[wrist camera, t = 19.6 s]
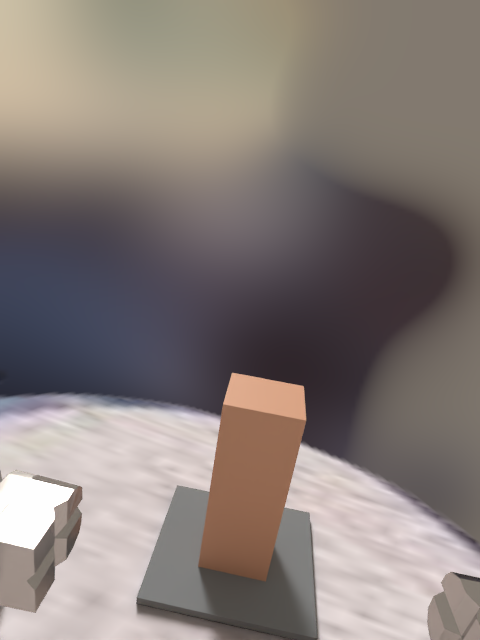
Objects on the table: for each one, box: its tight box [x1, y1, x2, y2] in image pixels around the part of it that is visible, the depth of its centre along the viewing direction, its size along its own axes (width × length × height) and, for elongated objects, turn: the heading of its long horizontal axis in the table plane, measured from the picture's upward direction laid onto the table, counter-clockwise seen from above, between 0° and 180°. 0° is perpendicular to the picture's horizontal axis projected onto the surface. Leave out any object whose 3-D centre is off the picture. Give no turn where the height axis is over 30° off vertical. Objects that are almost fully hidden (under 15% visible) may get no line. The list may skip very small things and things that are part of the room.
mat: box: [137, 485, 317, 640], centre depth 30 cm, size 12×10×1 cm
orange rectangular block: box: [198, 373, 306, 581], centre depth 27 cm, size 5×4×14 cm
